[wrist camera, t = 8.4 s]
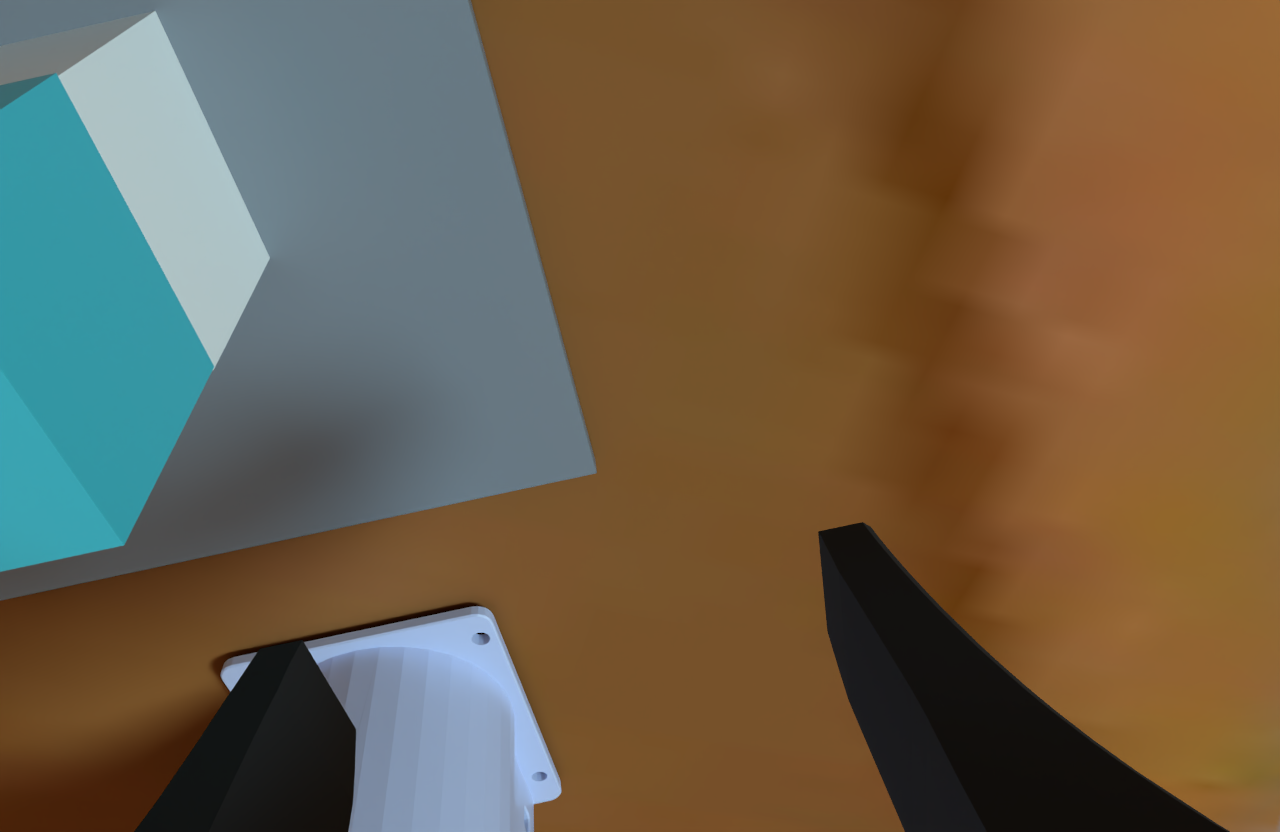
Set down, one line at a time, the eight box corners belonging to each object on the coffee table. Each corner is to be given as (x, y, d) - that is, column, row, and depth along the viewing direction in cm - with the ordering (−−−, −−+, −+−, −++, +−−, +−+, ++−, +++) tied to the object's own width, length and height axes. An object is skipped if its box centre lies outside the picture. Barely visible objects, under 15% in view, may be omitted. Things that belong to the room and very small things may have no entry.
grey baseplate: (595, 461, 24) (596, 472, 24) (6, 587, 25) (-3, 601, 24) (391, -295, 15) (387, -297, 15) (-554, -80, 15) (-583, -75, 15)
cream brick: (269, 257, 20) (213, 370, 16) (41, 308, 20) (-66, 431, 16) (155, 10, 17) (54, 78, 13) (-112, 71, 17) (-287, 156, 13)
